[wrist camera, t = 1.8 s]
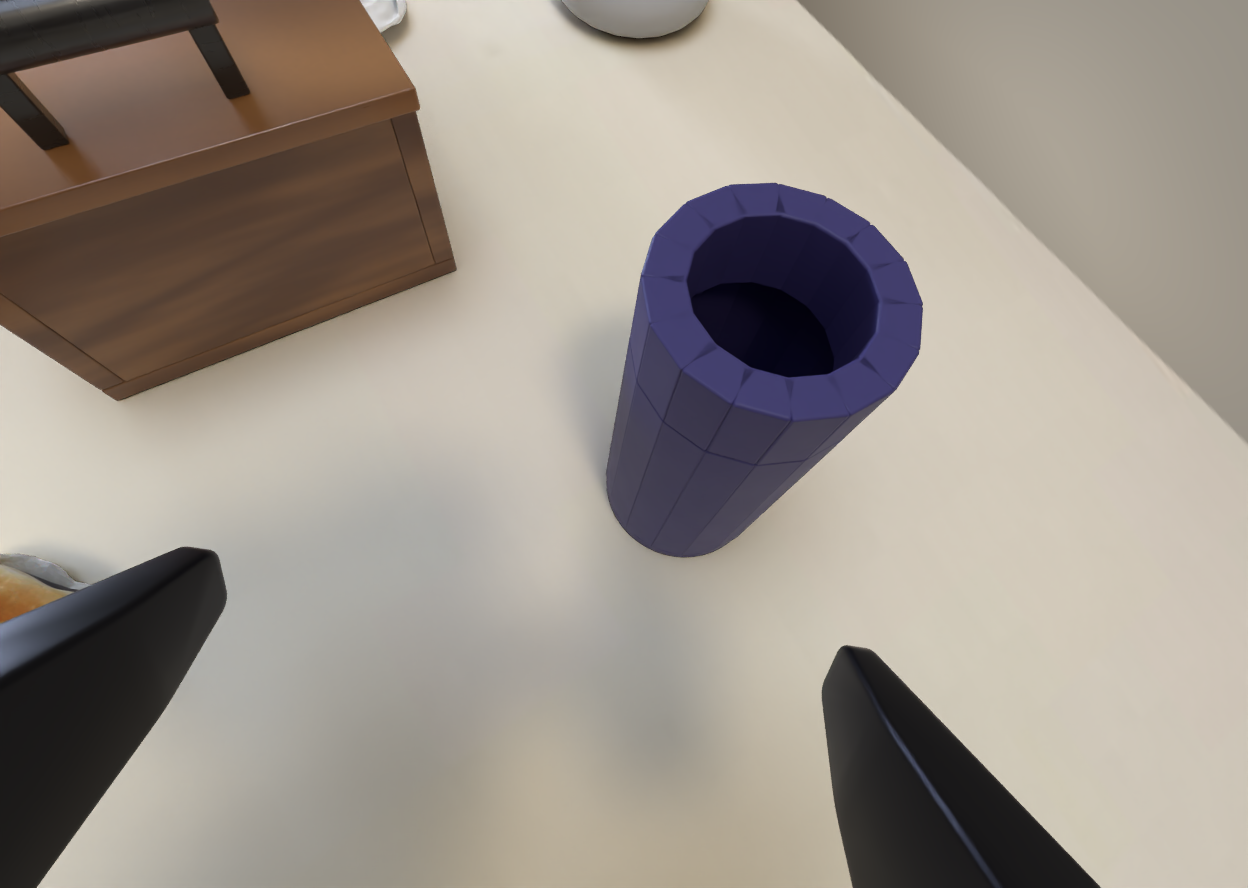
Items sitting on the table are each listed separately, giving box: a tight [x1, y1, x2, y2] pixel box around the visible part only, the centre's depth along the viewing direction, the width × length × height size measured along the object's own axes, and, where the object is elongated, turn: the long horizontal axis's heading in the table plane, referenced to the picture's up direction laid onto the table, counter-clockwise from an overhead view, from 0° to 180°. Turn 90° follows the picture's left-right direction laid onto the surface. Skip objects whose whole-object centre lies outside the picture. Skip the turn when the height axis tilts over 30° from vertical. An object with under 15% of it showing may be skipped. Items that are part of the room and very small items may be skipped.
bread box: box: [0, 111, 456, 401], centre depth 24 cm, size 14×15×9 cm
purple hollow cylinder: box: [606, 183, 923, 557], centre depth 19 cm, size 6×6×13 cm
